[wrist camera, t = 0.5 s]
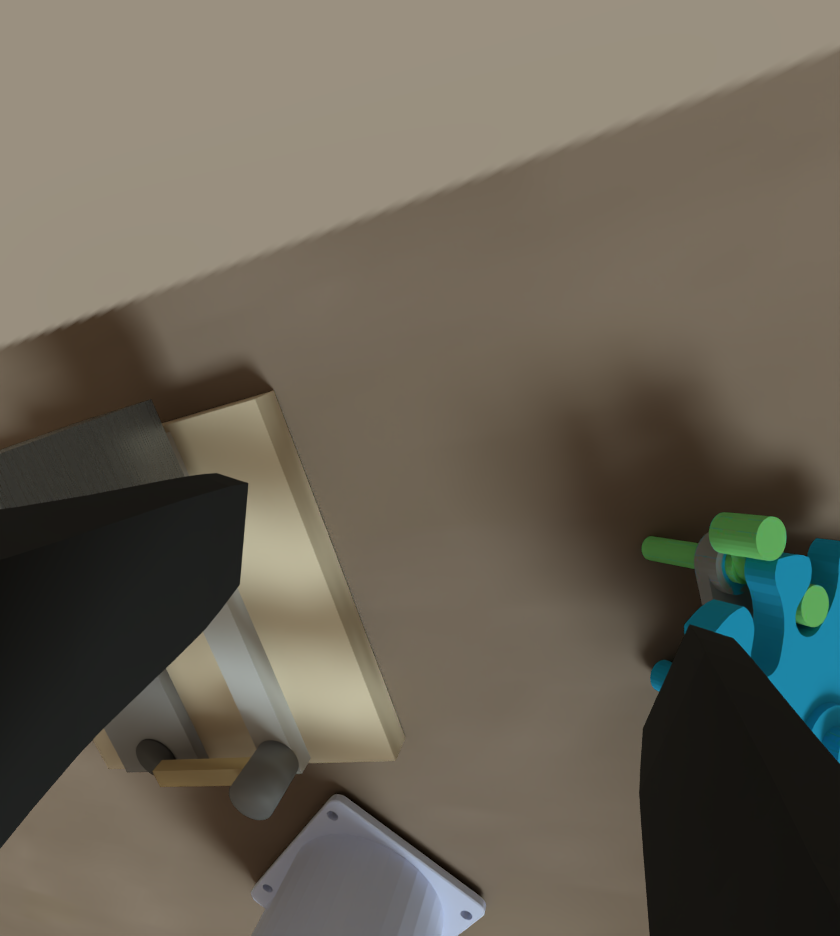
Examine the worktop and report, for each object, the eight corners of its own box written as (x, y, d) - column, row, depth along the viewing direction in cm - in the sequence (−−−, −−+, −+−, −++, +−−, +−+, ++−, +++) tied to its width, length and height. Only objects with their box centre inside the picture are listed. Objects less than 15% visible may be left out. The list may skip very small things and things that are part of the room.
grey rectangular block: (200, 512, 21) (54, 610, 15) (52, 544, 23) (-116, 638, 18) (151, 399, 20) (-23, 461, 14) (2, 446, 22) (-192, 513, 17)
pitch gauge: (405, 737, 25) (369, 823, 21) (126, 749, 30) (60, 819, 27) (273, 390, 21) (202, 423, 18) (-17, 475, 27) (-116, 514, 23)
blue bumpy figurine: (989, 832, 17) (750, 1068, 14) (788, 744, 23) (576, 895, 19) (930, 452, 16) (645, 592, 12) (731, 454, 21) (488, 551, 18)
